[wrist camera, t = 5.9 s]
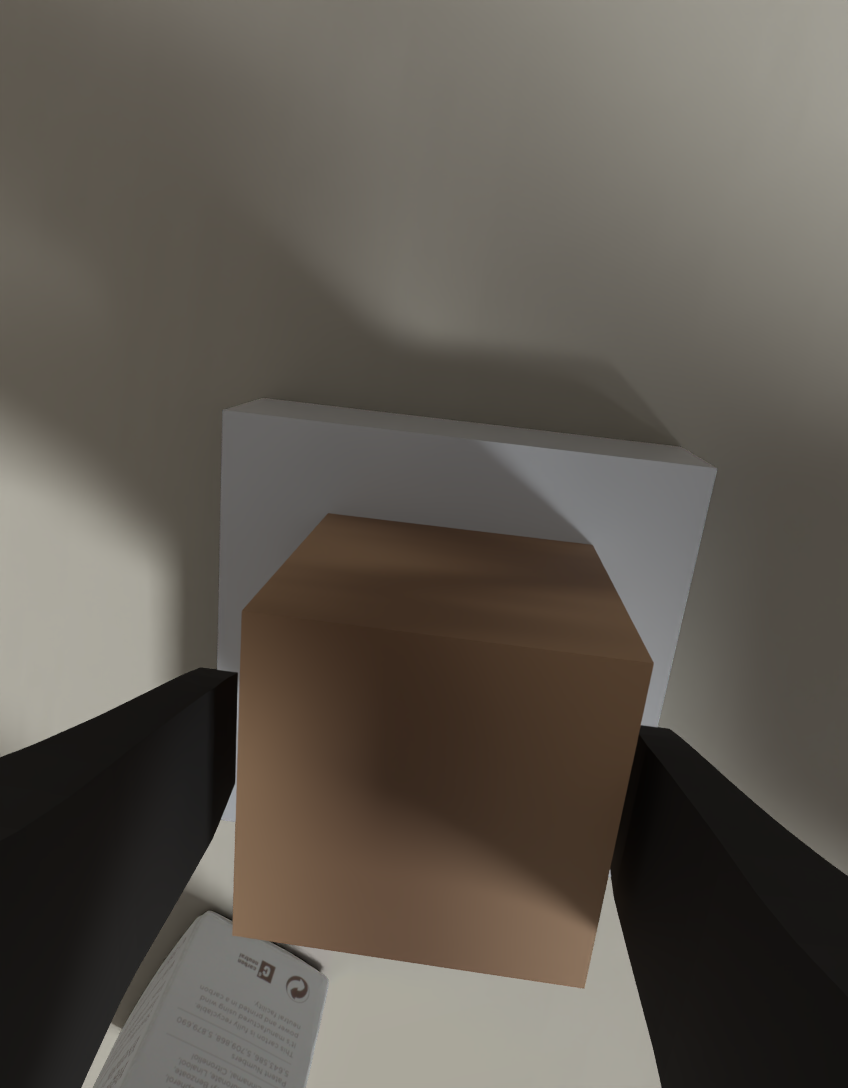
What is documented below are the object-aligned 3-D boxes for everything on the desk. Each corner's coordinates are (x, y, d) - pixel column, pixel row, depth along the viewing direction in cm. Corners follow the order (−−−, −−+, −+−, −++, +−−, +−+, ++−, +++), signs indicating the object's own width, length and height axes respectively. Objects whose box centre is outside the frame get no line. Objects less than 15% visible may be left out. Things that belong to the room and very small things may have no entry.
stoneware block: (675, 443, 15) (717, 468, 13) (601, 792, 18) (622, 878, 15) (270, 395, 16) (222, 409, 13) (255, 743, 19) (213, 818, 16)
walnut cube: (592, 544, 13) (654, 663, 8) (551, 775, 15) (584, 988, 10) (327, 513, 13) (241, 610, 9) (313, 742, 15) (231, 935, 10)
